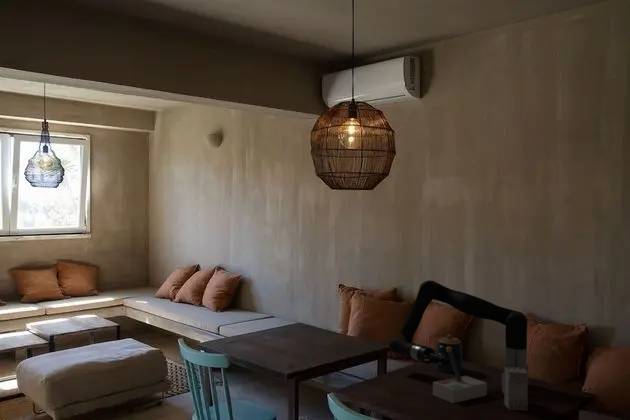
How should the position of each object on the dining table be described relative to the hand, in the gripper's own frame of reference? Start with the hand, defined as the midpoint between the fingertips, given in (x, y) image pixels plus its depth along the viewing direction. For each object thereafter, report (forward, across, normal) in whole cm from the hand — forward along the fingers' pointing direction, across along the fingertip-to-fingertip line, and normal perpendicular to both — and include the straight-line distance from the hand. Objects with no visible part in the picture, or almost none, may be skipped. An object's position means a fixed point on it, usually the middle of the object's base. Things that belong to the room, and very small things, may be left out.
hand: (449, 362), depth 253 cm
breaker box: (+7, 0, +12) cm, 14 cm away
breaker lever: (+7, 0, +7) cm, 10 cm away
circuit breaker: (+26, +12, +13) cm, 31 cm away
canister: (-24, +24, +13) cm, 37 cm away
